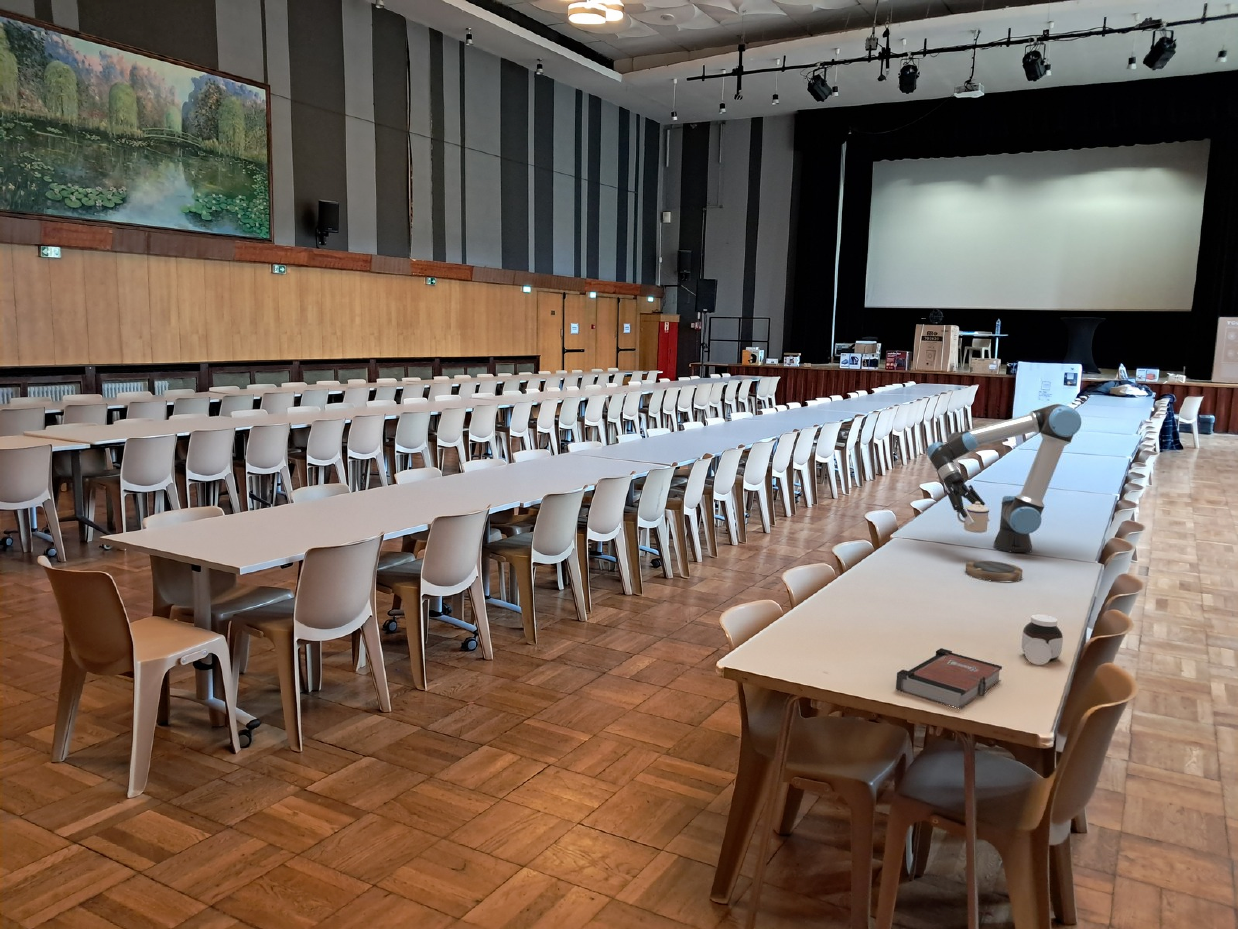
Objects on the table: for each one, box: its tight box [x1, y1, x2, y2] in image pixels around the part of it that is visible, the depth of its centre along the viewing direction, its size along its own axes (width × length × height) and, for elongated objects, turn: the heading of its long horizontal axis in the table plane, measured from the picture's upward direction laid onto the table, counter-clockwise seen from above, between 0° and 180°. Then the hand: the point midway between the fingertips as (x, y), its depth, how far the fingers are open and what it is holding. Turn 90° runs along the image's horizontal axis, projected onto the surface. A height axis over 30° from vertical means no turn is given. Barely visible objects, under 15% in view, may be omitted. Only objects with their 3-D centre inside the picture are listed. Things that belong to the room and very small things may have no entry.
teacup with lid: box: [956, 502, 990, 534], centre depth 362 cm, size 12×9×12 cm
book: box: [895, 647, 1003, 710], centre depth 235 cm, size 26×18×5 cm
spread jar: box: [1021, 614, 1064, 666], centre depth 255 cm, size 12×11×12 cm
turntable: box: [964, 560, 1024, 582], centre depth 344 cm, size 20×20×3 cm
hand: (979, 522), depth 359 cm, fingers closed on teacup with lid, 9 cm apart
